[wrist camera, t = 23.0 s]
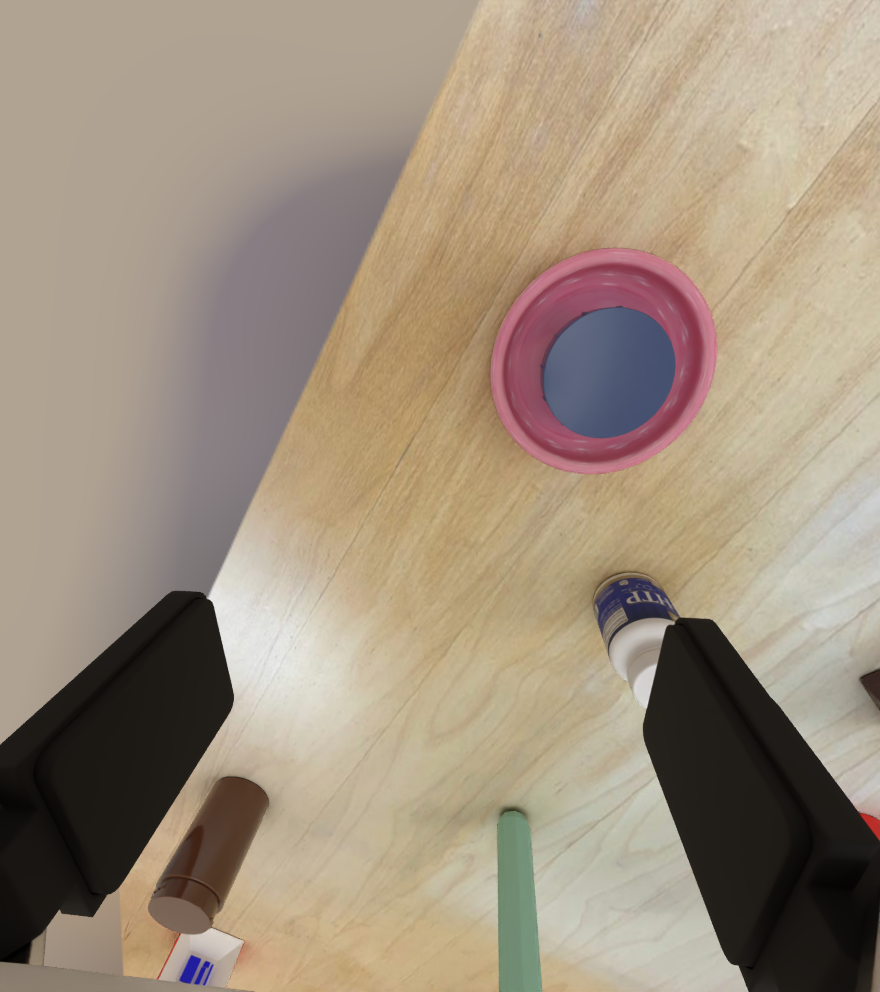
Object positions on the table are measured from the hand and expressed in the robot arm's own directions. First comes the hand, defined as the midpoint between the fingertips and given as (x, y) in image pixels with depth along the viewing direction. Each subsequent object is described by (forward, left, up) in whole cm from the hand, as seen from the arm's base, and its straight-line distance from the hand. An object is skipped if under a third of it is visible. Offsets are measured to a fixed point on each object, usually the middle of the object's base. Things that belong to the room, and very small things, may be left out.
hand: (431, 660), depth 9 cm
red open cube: (-20, -77, -23) cm, 83 cm away
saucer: (+6, +5, -23) cm, 24 cm away
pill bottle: (+14, -11, -23) cm, 29 cm away
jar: (-16, -45, -23) cm, 53 cm away
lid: (+6, +5, -18) cm, 20 cm away
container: (+12, -38, -23) cm, 46 cm away
